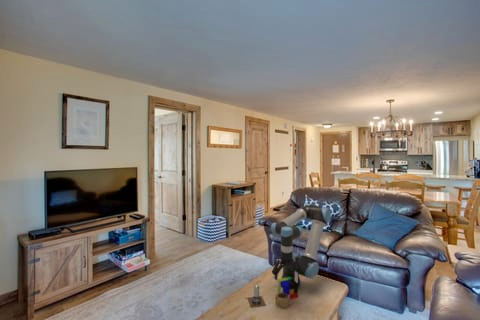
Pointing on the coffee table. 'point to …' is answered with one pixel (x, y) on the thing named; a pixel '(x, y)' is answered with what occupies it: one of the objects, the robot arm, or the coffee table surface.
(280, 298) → the ring
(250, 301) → the peg on square base
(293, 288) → the puzzle toy
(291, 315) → the coffee table surface
